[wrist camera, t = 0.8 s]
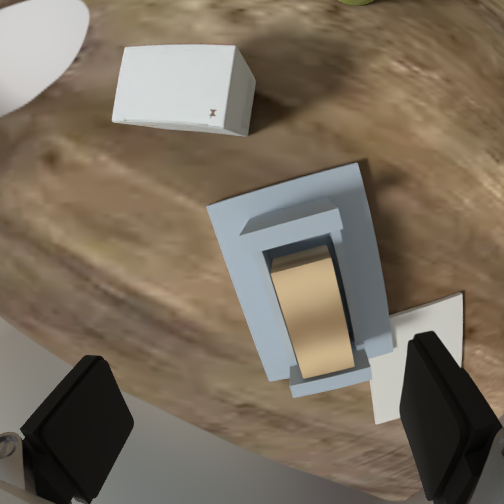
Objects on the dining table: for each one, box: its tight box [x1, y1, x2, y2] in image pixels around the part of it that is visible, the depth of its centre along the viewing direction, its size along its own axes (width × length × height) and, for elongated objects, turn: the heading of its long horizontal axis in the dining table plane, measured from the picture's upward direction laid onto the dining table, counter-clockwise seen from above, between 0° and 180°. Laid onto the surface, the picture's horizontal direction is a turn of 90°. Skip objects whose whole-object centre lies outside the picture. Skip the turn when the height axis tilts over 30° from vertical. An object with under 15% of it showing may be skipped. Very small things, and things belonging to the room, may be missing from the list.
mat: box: [368, 292, 463, 424], centre depth 33 cm, size 12×16×1 cm
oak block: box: [271, 245, 355, 379], centre depth 26 cm, size 10×4×4 cm, turn 18°
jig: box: [206, 162, 393, 398], centre depth 28 cm, size 20×14×8 cm
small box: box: [112, 44, 256, 137], centre depth 23 cm, size 8×6×10 cm
